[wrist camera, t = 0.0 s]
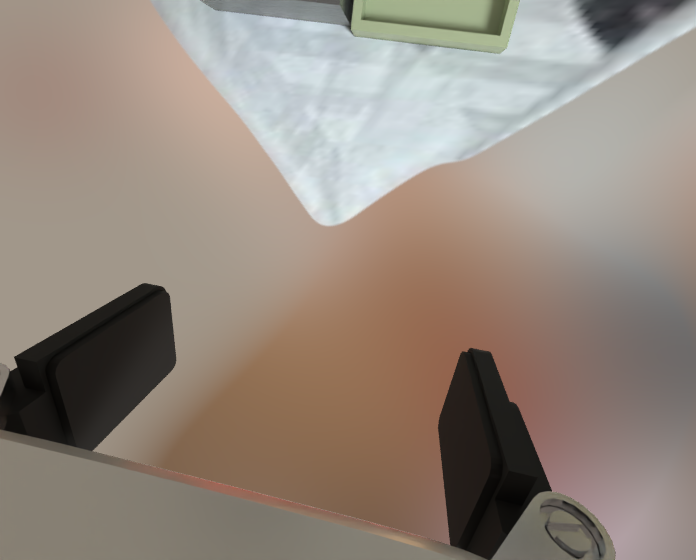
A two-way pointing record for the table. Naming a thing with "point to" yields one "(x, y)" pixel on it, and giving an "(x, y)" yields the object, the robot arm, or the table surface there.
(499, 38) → the chip tray
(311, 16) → the channel
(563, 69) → the table surface
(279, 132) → the table surface
